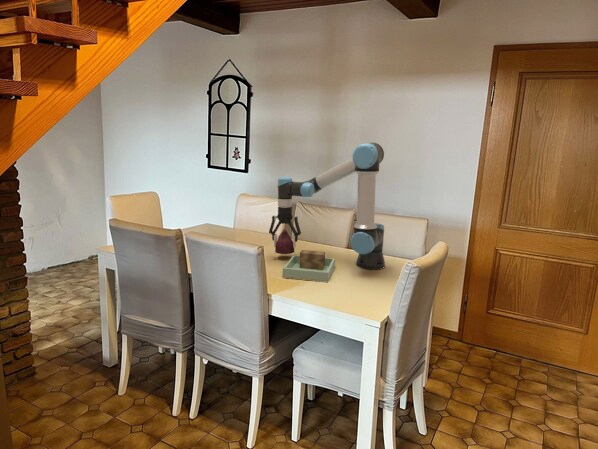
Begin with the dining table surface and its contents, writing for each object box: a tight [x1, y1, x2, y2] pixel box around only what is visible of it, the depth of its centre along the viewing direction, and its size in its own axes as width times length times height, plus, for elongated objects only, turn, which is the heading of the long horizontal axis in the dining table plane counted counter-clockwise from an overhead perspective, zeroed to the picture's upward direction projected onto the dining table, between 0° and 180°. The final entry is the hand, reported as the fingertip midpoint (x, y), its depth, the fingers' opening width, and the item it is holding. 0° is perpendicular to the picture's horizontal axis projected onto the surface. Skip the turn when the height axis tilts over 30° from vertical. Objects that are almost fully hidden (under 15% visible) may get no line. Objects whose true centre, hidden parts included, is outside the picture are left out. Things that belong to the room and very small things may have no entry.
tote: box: [282, 254, 336, 284], centre depth 230 cm, size 22×24×5 cm
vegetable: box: [274, 228, 295, 255], centre depth 249 cm, size 10×10×15 cm
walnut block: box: [299, 249, 326, 270], centre depth 236 cm, size 12×6×8 cm, turn 78°
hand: (284, 246), depth 251 cm, fingers closed on vegetable, 10 cm apart
